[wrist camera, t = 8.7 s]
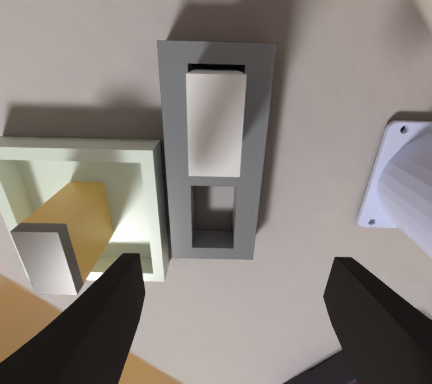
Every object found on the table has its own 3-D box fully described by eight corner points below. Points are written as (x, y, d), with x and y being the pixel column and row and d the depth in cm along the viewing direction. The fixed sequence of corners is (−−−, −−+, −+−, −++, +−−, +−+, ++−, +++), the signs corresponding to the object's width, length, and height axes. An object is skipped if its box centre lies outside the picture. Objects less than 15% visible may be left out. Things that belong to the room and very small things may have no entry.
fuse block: (269, 45, 15) (276, 43, 13) (249, 241, 21) (252, 259, 19) (164, 42, 15) (156, 40, 13) (176, 239, 21) (172, 257, 19)
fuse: (236, 69, 16) (246, 74, 10) (232, 141, 18) (239, 176, 12) (196, 68, 16) (185, 73, 10) (197, 140, 18) (188, 176, 12)
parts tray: (160, 139, 18) (152, 150, 16) (169, 261, 22) (164, 281, 20) (1, 136, 18) (-27, 146, 16) (45, 258, 22) (27, 278, 20)
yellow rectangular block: (103, 182, 18) (57, 232, 13) (113, 233, 20) (77, 294, 15) (69, 181, 18) (10, 231, 13) (83, 232, 20) (35, 293, 15)
